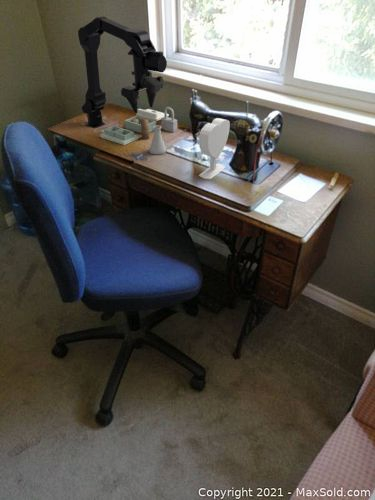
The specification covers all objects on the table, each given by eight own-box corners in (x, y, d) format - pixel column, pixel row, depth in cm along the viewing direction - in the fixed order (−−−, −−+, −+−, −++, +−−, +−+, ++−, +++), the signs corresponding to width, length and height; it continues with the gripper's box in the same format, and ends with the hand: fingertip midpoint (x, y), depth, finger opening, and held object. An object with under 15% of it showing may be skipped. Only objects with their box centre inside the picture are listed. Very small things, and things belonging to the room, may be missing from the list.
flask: (168, 148, 153) (167, 123, 147) (165, 155, 147) (165, 130, 141) (150, 147, 153) (149, 123, 147) (147, 154, 148) (146, 129, 142)
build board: (100, 137, 161) (99, 129, 159) (115, 131, 167) (114, 123, 165) (124, 145, 155) (123, 137, 153) (138, 138, 160) (138, 131, 158)
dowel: (140, 138, 160) (138, 119, 155) (145, 136, 162) (143, 117, 158) (145, 140, 159) (144, 121, 154) (150, 138, 161) (149, 119, 156)
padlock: (178, 130, 168) (178, 107, 162) (172, 133, 166) (172, 110, 160) (166, 126, 172) (165, 104, 165) (160, 129, 169) (159, 106, 163)
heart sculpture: (216, 161, 143) (219, 114, 132) (228, 164, 141) (232, 117, 130) (195, 177, 133) (197, 127, 122) (208, 181, 131) (210, 130, 120)
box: (125, 128, 170) (124, 120, 167) (137, 123, 175) (136, 115, 172) (144, 134, 164) (144, 126, 162) (156, 129, 169) (156, 121, 167)
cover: (136, 115, 172) (135, 109, 171) (148, 110, 178) (148, 104, 176) (156, 121, 167) (156, 114, 165) (168, 116, 172) (168, 109, 170)
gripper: (140, 77, 134) (143, 120, 144) (172, 67, 146) (173, 108, 155) (118, 72, 139) (122, 114, 149) (151, 63, 151) (152, 102, 161)
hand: (143, 109), depth 153 cm, fingers open, 9 cm apart
